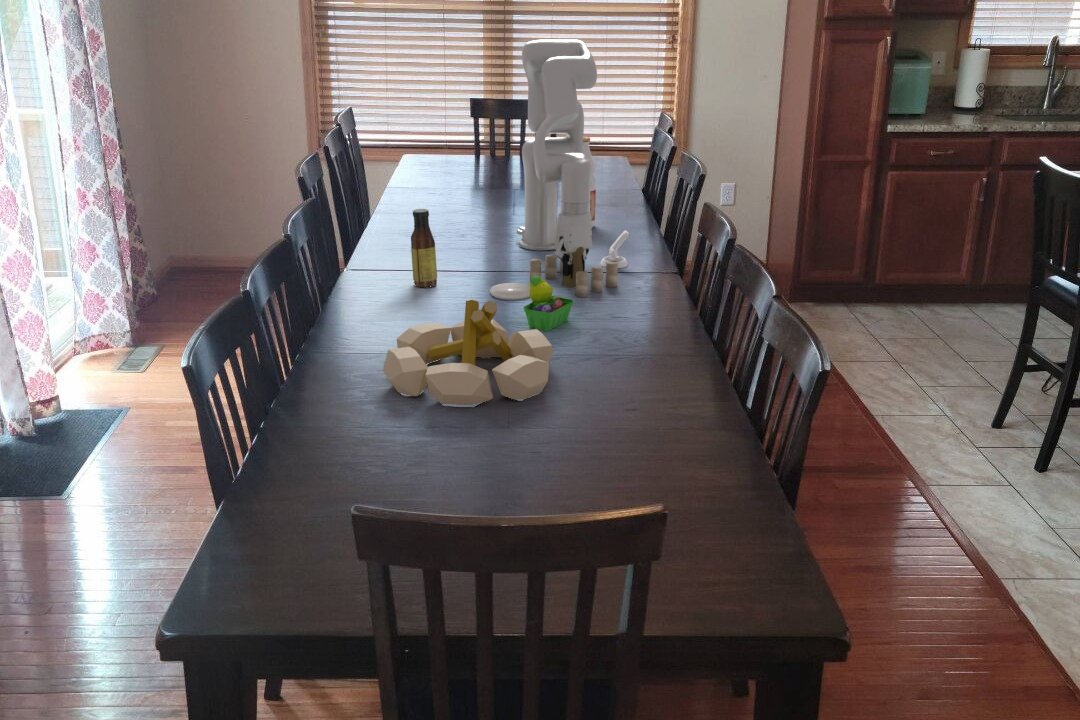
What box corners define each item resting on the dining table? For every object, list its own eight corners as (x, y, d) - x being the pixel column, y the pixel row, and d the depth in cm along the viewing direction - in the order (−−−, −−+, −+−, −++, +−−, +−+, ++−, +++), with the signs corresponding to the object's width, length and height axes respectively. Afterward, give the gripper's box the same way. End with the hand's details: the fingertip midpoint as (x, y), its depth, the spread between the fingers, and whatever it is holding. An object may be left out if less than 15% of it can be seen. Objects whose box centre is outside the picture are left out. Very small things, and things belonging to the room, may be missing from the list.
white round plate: (481, 293, 268) (481, 288, 267) (511, 284, 275) (511, 279, 275) (512, 302, 261) (512, 298, 260) (542, 293, 268) (542, 288, 268)
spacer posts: (527, 282, 277) (527, 260, 274) (565, 270, 287) (565, 249, 285) (582, 298, 265) (582, 275, 262) (619, 285, 275) (620, 263, 273)
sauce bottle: (441, 283, 275) (439, 209, 268) (429, 290, 270) (427, 214, 262) (420, 280, 277) (417, 206, 270) (407, 286, 272) (404, 211, 265)
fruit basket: (549, 334, 240) (550, 287, 236) (517, 327, 244) (517, 280, 240) (574, 320, 249) (575, 274, 245) (543, 313, 253) (543, 268, 249)
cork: (587, 282, 277) (588, 241, 273) (580, 288, 272) (581, 247, 268) (565, 279, 279) (566, 239, 275) (558, 285, 274) (559, 245, 270)
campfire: (550, 415, 199) (551, 331, 193) (372, 410, 200) (368, 326, 194) (555, 349, 231) (556, 275, 225) (403, 346, 233) (400, 272, 226)
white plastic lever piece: (646, 250, 288) (627, 238, 285) (619, 282, 292) (600, 270, 290) (642, 238, 294) (623, 225, 291) (615, 269, 299) (596, 257, 296)
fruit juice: (559, 225, 333) (560, 137, 323) (579, 221, 339) (581, 133, 329) (580, 231, 327) (582, 141, 317) (600, 226, 333) (603, 137, 323)
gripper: (585, 200, 276) (583, 267, 283) (542, 210, 265) (541, 280, 272) (607, 204, 272) (604, 272, 278) (564, 215, 260) (563, 286, 267)
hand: (573, 275), depth 275 cm, fingers closed on cork, 3 cm apart
